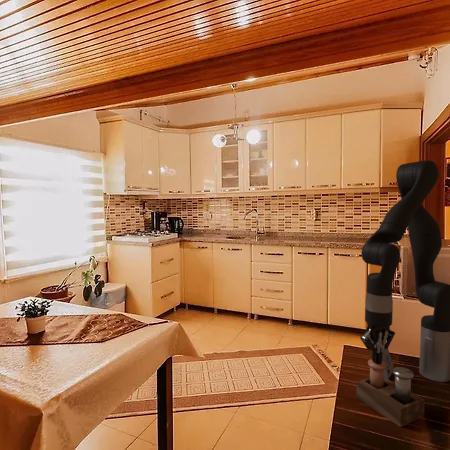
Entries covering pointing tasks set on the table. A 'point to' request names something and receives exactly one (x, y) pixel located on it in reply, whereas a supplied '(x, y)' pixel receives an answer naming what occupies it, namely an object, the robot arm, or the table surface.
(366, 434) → the table surface
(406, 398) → the grey plug
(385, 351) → the electrical switch
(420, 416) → the socket board
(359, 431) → the table surface
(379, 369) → the terracotta plug
